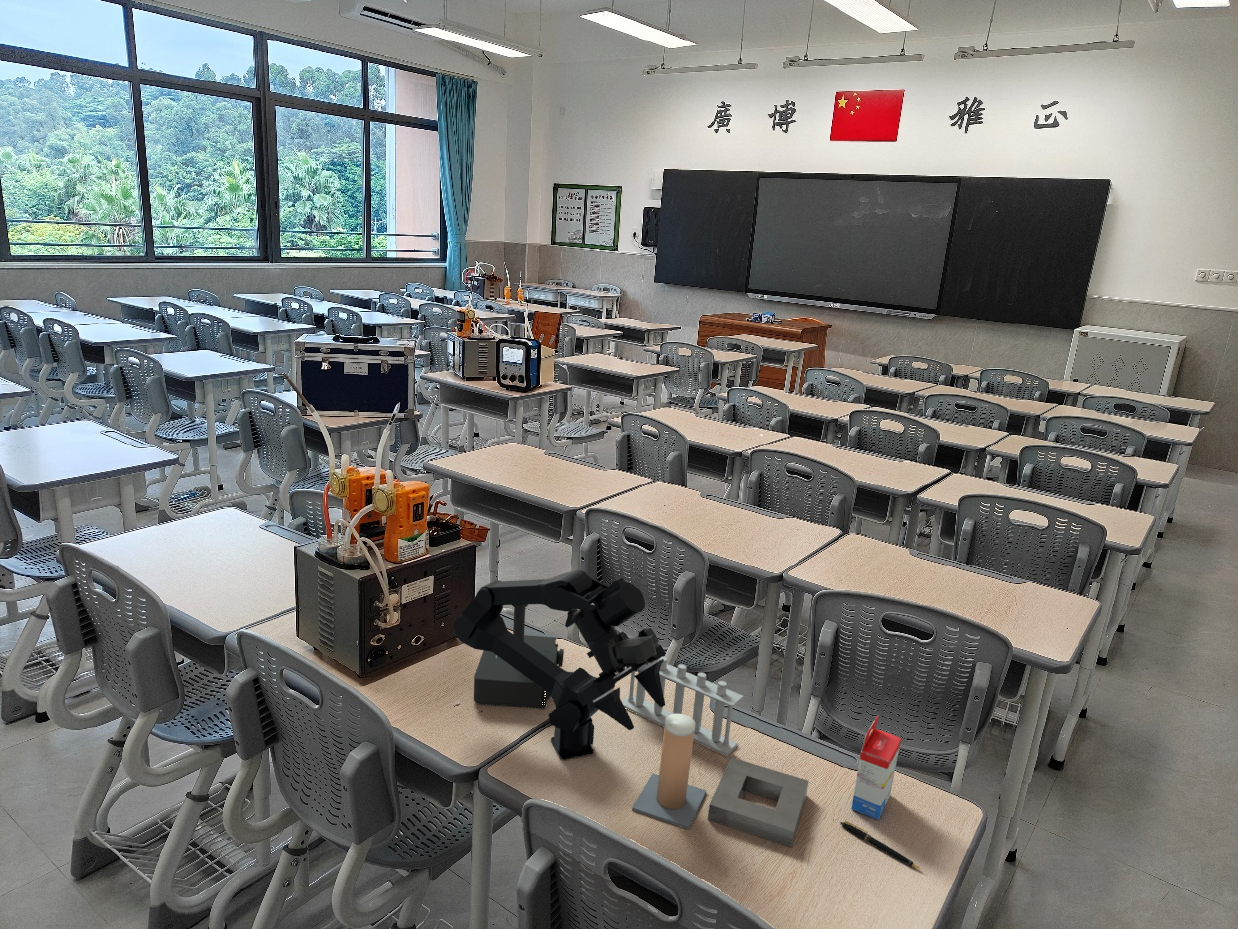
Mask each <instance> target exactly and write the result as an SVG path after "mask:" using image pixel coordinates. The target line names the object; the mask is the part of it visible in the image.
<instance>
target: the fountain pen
mask: <svg viewBox="0 0 1238 929" xmlns="http://www.w3.org/2000/svg"><path fill="white" fill-rule="evenodd" d="M839 823H840V825H841V826H842V828H844V829H845V830H847V831H848V832H849V833H851V834H853V835H854V836H856V837H857V838H859V839H860V840H862V841H864V842H865V843H868V844H870V845H871V846H873V847H874V848H876V849H878V850H880V851H882V852H884V853H885V854H888V855H889V856H891V857H893V858H894V859H896V860H898V861H900V862H902V863H904V864H906V865H908V866H909V867H911V868H912V867H914V868H915V869H919V870H922V868H921V867H920V866H919V865H916V864H915V862H914V861H912V860H911V859H909V858H907V856H904V855H903V854H901V853H900V852H898V851H896V850H895V849H893V848H892V847H890V846H888V845H887V844H885V843H884V842H881V841H880V840H878V839H876V838H875V837H873V836H872V835H871V834H868V832H869V831H867V830H865V829H863V828H862V827H859V826H857V825H856V824H854V823H852V822H850V821H848V820H845V821H844V822H843V821H840V822H839Z"/></svg>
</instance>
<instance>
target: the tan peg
mask: <svg viewBox="0 0 1238 929" xmlns="http://www.w3.org/2000/svg"><path fill="white" fill-rule="evenodd" d="M663 728H664V729H663V737H662V744H661V754H660V763H659V772H658V775H659V779H658V787H657V796H656V799H657V801H658V803H659V804H660V805H661V806H663V807H665V808H668V809H678V808H681V807H683V806H684V804H685V802H686V794H687V786H688V785H689V777H690V776H689V775H690V768H691V762H692V755H693V754H692V753H693V746H694V741H693V739H694V731H695V721H694V720H693V717H691V716H689V715H687V714H683V713H682V714H671V715H669V716H667V717H666V719H665V727H663Z"/></svg>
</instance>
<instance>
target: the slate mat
mask: <svg viewBox="0 0 1238 929" xmlns="http://www.w3.org/2000/svg"><path fill="white" fill-rule="evenodd" d="M658 779H659V774H656V773H652V774H651V775H650V776H649V778H648V780H647V782H646V784H645V785H644V787H643V789H642V790H641V792H640V793H639V795H638V797H637V799H635V800H636V801H635V802H634V803H633V806H632V808H631V811H634V812H637V813H640V814H642V815H646V816H648V817H650V818H651V817H652V818H654V819H658V820H660V821H662V822H666V823H669V824H671V825H675V826H678V827H681V828H684V829H687V830H690V829H691V828H690V827H691V826H692V823H693V821H694V819H695V817H696V815H697V813H698V811H699V808H700V807H701V804H702V802H703V801H704V798H705V796H706V794H707V790H706V789H703V788H699V787H696V786H693V785H691V784H688V786H687V794H686V802H685V804H684V806H683V807H681V808H678V809H668V808H665V807H663V806H661V805H660V804H659V803H658V801H657V799H656V796H657V787H658Z"/></svg>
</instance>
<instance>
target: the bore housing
mask: <svg viewBox="0 0 1238 929" xmlns="http://www.w3.org/2000/svg"><path fill="white" fill-rule="evenodd" d="M808 787H809V780H808V779H804V778H800V777H798V776H795V775H791V774H788V773H785V772H781V771H777V770H775V769H771V768H768V767H765V766H761V765H758V764H755V763H752V762H748V761H744V760H741V759H738V758H734V757H730V759H729V761H728V763H727V766H726V768H725V770H724V772H723V774H722V776H721V778H720V780H719V782H718V785H717V787H716V790H715V791H714V794H713V796H712V797H711V800H710V802H709V806H708V807H709V808H708V814H707V821H712V822H714V823H717V824H720V825H722V826H725V827H729V828H732V829H735V830H738V831H741V832H744V833H747V834H750V835H753V836H756V837H759V838H762V839H766V840H768V841H771V842H774V843H776V844H780V845H782V846H786V847H789V848H792V847H793V843H794V839H795V836H796V833H797V830H798V827H799V824H800V823H799V822H800V820H801V815H802V811H803V808H804V806H805V801H806V799H807V798H806V797H807V794H808V793H807V792H808ZM745 791H746V792H748V793H749V792H750V793H752V794H755V795H759V796H762V797H765V798H768V799H772V800H775V801H777V803H776V807H775V808H771V807H768V806H764V805H762V804H758V803H755V802H753V801H749V800H746V799H744V798H743V795H744V792H745Z"/></svg>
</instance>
